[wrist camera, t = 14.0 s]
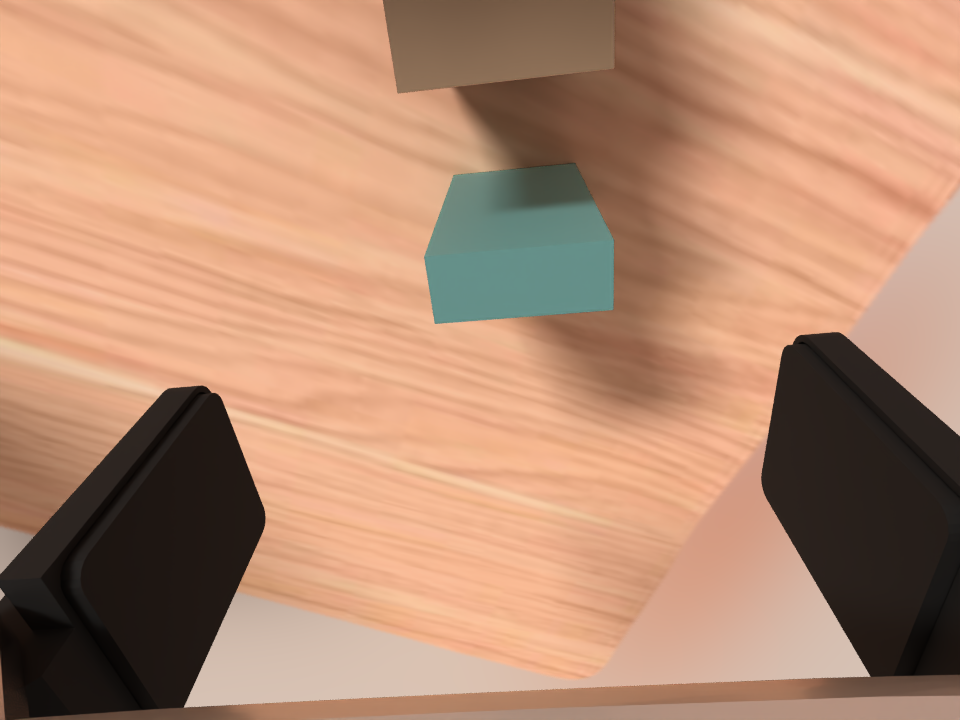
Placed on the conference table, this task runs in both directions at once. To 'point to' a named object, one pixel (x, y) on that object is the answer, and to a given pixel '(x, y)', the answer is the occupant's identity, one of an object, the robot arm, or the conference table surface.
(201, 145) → the conference table surface
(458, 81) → the domino
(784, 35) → the conference table surface
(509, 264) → the teal domino
